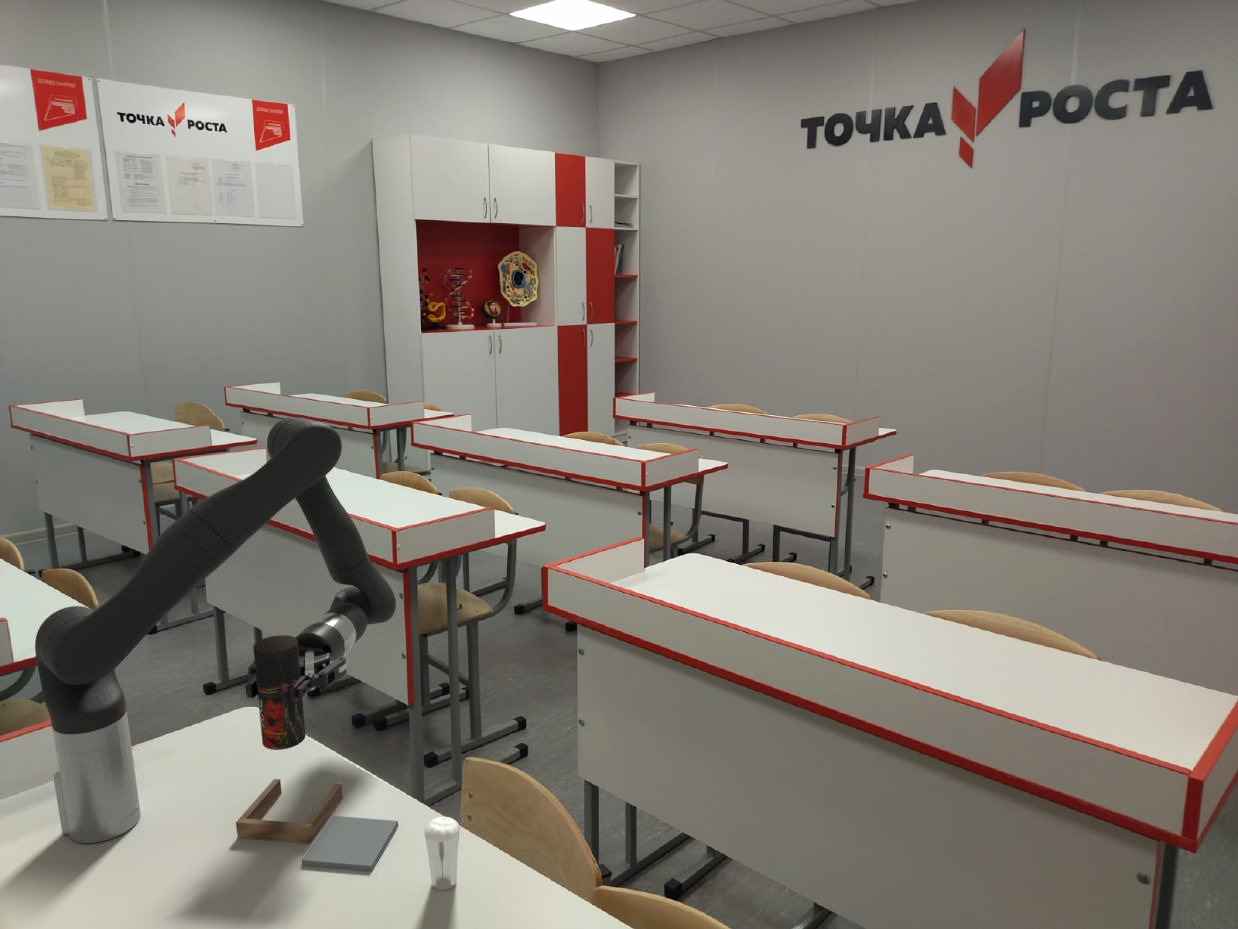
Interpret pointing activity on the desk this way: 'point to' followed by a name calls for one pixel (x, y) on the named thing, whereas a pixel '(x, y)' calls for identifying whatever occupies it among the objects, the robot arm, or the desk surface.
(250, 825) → the walnut bay
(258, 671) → the deodorant
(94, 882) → the desk surface
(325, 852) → the pad
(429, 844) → the milkshake
